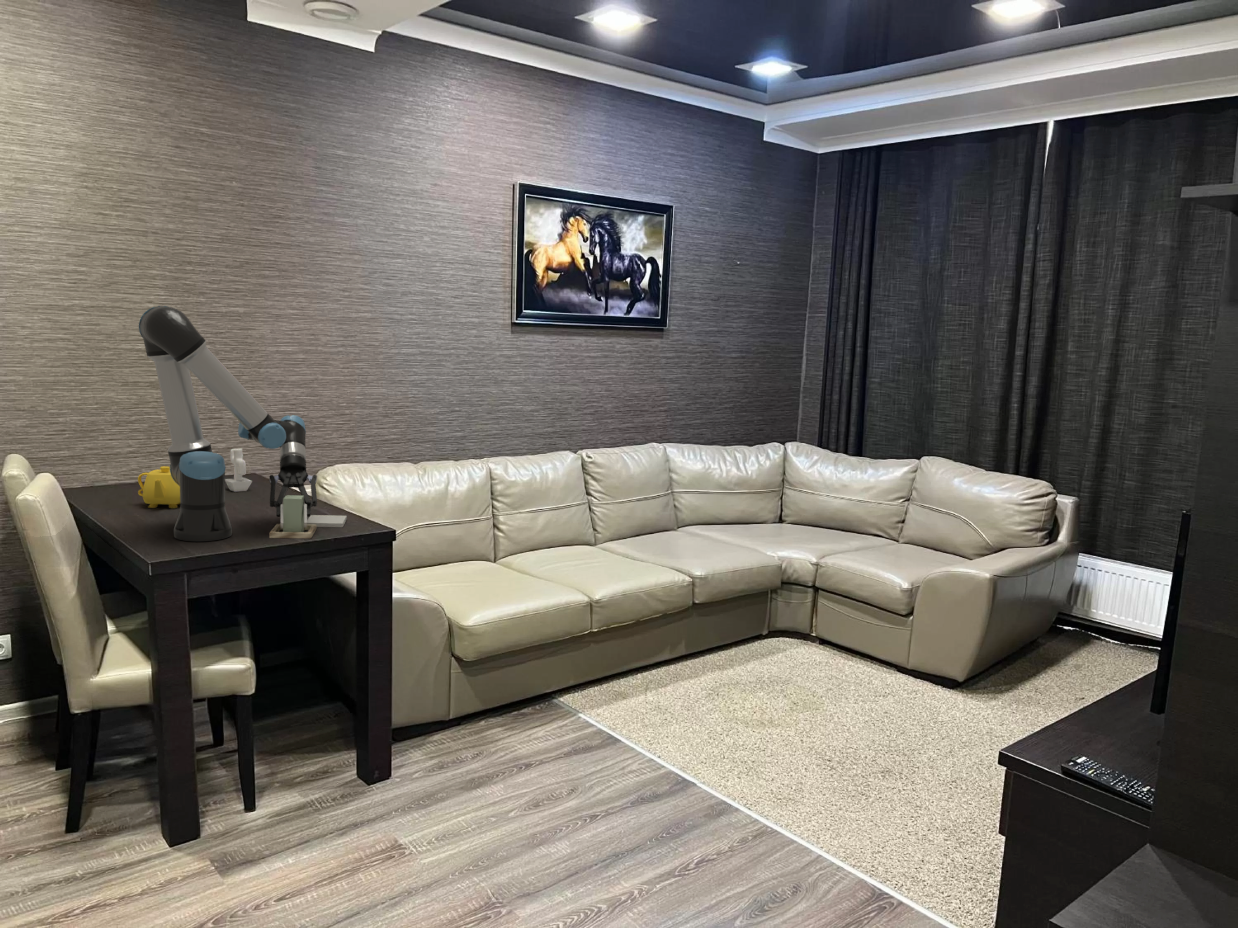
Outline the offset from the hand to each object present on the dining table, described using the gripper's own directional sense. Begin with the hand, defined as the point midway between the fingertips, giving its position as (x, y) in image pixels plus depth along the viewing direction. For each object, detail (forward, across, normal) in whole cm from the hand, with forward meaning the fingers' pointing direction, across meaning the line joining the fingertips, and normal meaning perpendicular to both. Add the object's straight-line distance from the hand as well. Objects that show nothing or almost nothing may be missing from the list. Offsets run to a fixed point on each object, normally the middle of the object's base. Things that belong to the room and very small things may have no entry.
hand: (293, 525), depth 265 cm
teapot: (-31, +37, -36) cm, 60 cm away
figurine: (-48, +18, -53) cm, 74 cm away
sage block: (0, 0, -5) cm, 5 cm away
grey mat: (-9, -10, -14) cm, 20 cm away
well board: (0, 0, -5) cm, 5 cm away
